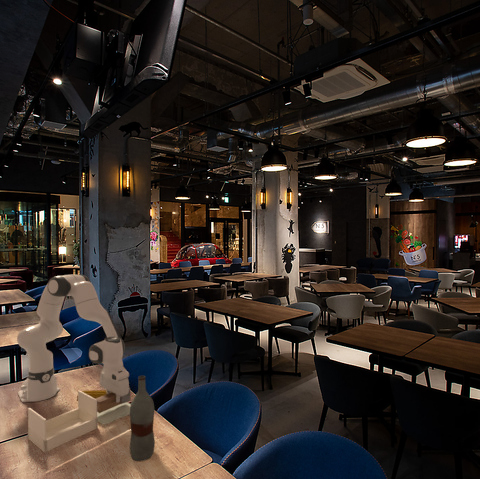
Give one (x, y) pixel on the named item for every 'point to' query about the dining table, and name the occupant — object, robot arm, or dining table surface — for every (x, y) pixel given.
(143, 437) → the bottle
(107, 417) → the board
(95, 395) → the food
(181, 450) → the dining table surface
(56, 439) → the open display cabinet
